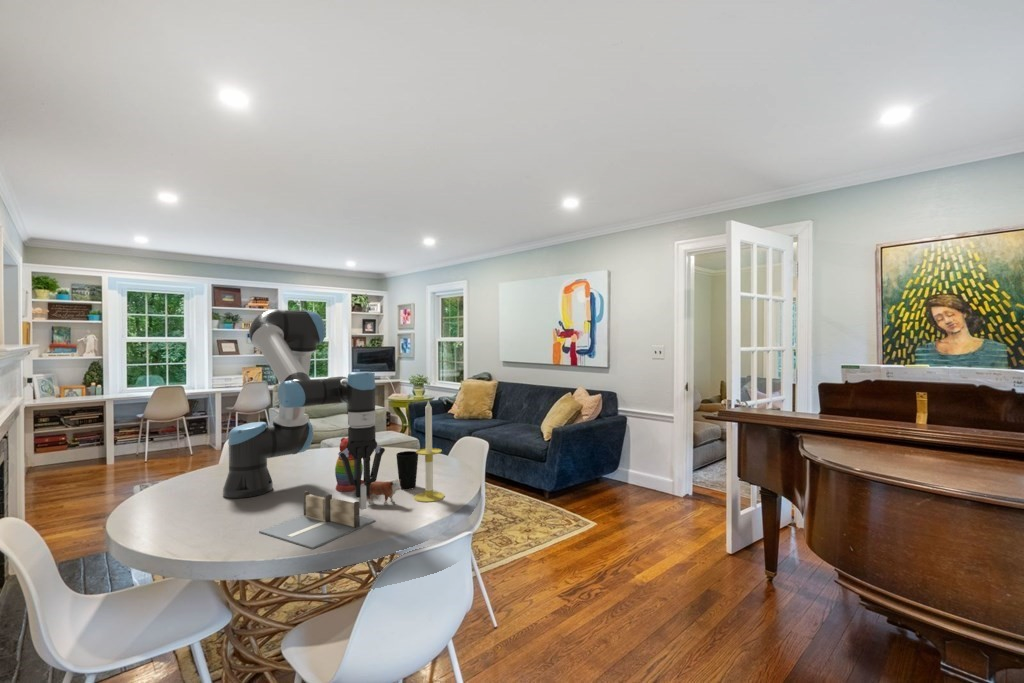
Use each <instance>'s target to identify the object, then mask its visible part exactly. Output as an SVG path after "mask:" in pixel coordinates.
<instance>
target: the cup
mask: <svg viewBox="0 0 1024 683" xmlns="http://www.w3.org/2000/svg"><path fill="white" fill-rule="evenodd" d="M418 461H419V454H417V453H416V451H413V450H406V451H399V452H397V453H396V463H397V464H396V466H397V473H398V481H399V480H401V481H400V486H401V489H400V490H403V489H409V490H412V488H413V489H415V488H416V486H417V475H418V474H417V473H418V464H419V463H418Z"/></svg>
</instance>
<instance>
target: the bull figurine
mask: <svg viewBox="0 0 1024 683" xmlns="http://www.w3.org/2000/svg"><path fill="white" fill-rule="evenodd" d="M400 481H401V480H399V478H398V479H397V478H394V479H389V480H388V479H387V480H383V481H381V480H380V481H379V480H376V481H375V482H372V483H371V485H370V494H369V496H366V502H369V505H371V506H374V505H375V502H374V501H373V500H372V495H375V496H376V497H377V498H379V497H380V496H384V502H383V504H384V506H388V505H389V504H388V500H389V499H390V503H391V504H395V500H394V499H393V497H394V495H395V494H396V492H397V491H400V490H402V489H401V486H400ZM363 484H364V483H363Z"/></svg>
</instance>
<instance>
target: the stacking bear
mask: <svg viewBox="0 0 1024 683" xmlns="http://www.w3.org/2000/svg"><path fill="white" fill-rule="evenodd" d="M347 444H348V437H346V438H345V437H342V438H340V444H339V452H342V451H344V450H345V449H346V446H347ZM348 455H349V456H348V460H349V464H350V467H351V471H352V475H353V479H354V457H353V456H352V455H351V454H350V453H349V452H348ZM362 460H363V459H361V478H362V477H363V463H362V462H363V461H362ZM335 462H336V463H335V468H334V469H335V470H334V475H335V480H336V485H335V490H336V491H337V492H343V493H345V492H353V491H354V492H355V486H351V485H350V484H349V483H348V480H347V476H346V472H345V469H344V465H343V461H342V459H341V458H340V456H339V455H338V457H337V459H336V461H335ZM363 483H364V479H361V484H363Z"/></svg>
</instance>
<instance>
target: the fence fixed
mask: <svg viewBox="0 0 1024 683" xmlns="http://www.w3.org/2000/svg"><path fill="white" fill-rule="evenodd" d="M309 493H310V491H309V490H305V491H303V515H304V516H309V517H313V518H317V519H320V520H325V521H326V522H329V521H331V519H330V500H331V499H333V494H330V493H329V494H326V495H324V496H318V495H315V494H311V493H310V494H309Z"/></svg>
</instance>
